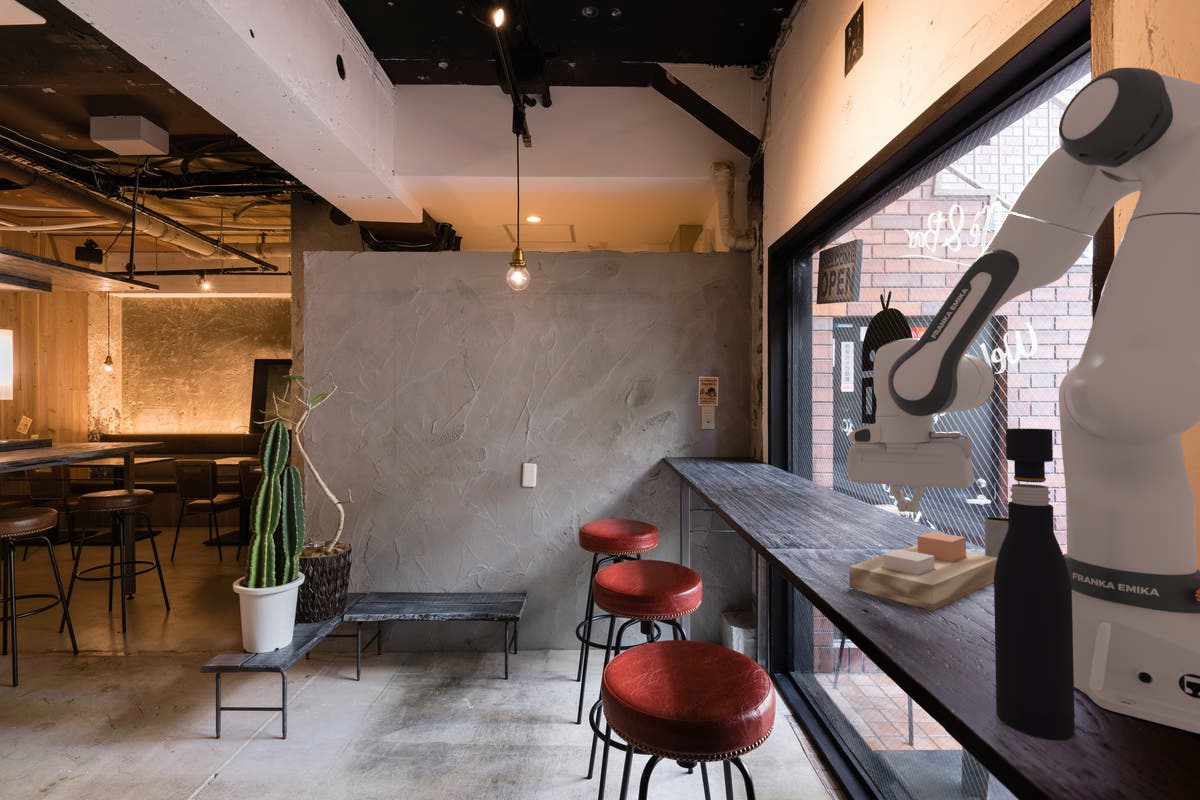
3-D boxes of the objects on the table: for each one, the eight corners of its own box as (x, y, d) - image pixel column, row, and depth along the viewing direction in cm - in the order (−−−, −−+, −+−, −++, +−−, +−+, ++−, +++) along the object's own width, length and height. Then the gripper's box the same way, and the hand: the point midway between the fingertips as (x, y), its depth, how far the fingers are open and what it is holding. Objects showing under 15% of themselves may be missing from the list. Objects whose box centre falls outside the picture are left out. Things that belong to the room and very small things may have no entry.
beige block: (934, 578, 100) (934, 555, 100) (918, 585, 97) (917, 561, 97) (899, 571, 105) (899, 549, 105) (883, 577, 102) (882, 554, 102)
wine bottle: (1065, 748, 54) (1059, 430, 55) (987, 720, 59) (982, 429, 60) (1082, 724, 58) (1075, 428, 59) (1007, 699, 63) (1002, 427, 64)
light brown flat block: (999, 579, 107) (998, 557, 107) (933, 610, 91) (932, 585, 91) (920, 563, 118) (920, 544, 119) (849, 588, 102) (849, 566, 102)
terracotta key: (966, 558, 108) (965, 537, 108) (952, 563, 105) (951, 541, 105) (932, 552, 113) (931, 531, 113) (917, 557, 109) (917, 536, 109)
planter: (979, 569, 114) (978, 517, 114) (996, 567, 115) (995, 515, 115) (1001, 575, 110) (1000, 521, 110) (1019, 573, 111) (1018, 520, 111)
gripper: (977, 430, 95) (983, 515, 94) (858, 432, 111) (862, 504, 110) (962, 432, 91) (967, 520, 90) (840, 433, 107) (844, 508, 107)
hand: (908, 511), depth 101 cm, fingers closed
